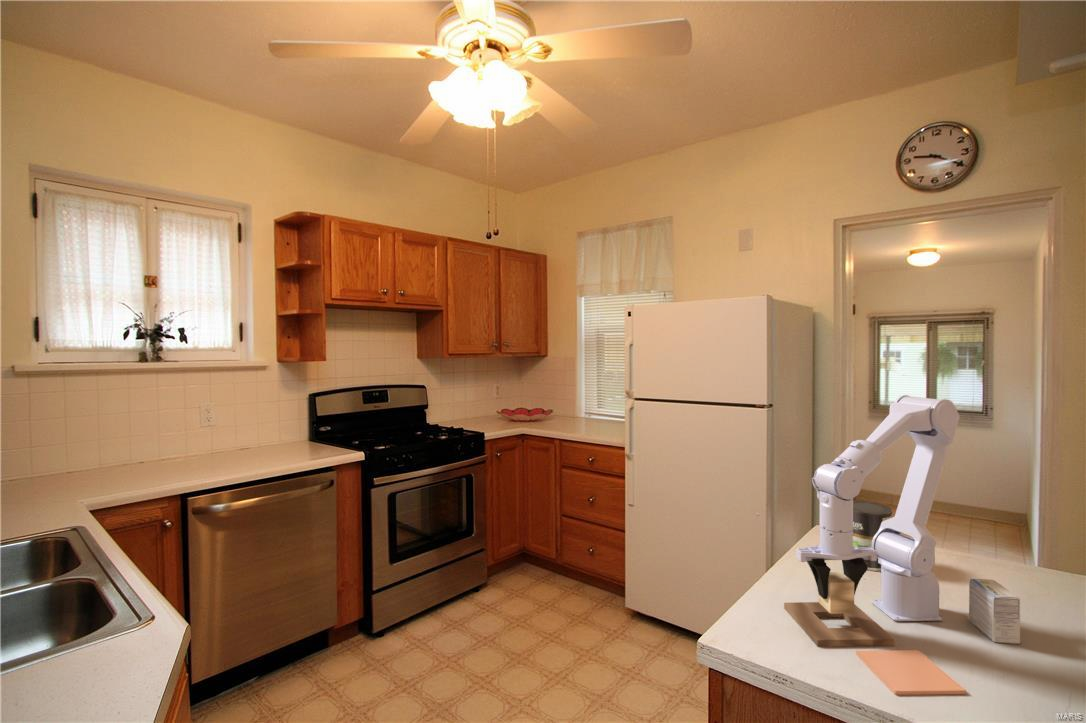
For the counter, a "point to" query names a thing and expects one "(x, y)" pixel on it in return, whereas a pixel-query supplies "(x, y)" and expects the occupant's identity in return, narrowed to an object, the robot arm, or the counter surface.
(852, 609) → the birch block
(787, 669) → the counter surface
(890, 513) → the coffee can
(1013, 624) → the medicine box
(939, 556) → the counter surface
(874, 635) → the pocket plate
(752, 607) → the counter surface
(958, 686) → the tile
